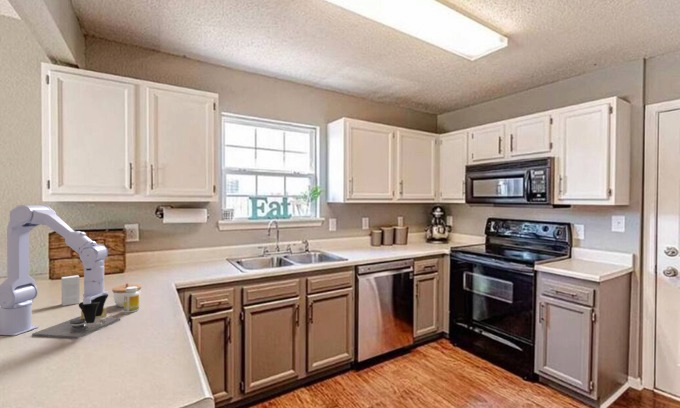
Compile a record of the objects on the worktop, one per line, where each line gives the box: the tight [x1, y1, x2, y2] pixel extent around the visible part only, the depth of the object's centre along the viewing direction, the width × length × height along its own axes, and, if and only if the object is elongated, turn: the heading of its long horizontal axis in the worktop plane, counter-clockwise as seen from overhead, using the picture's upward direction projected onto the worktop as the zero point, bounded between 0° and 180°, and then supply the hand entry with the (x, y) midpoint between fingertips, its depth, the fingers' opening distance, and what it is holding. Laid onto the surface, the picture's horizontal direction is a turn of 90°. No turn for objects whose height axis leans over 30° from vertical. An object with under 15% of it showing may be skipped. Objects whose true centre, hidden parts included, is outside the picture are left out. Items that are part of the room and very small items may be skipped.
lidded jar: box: [111, 283, 142, 308], centre depth 147 cm, size 11×11×9 cm
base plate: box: [31, 315, 121, 340], centre depth 120 cm, size 17×18×2 cm
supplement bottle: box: [123, 286, 140, 314], centre depth 139 cm, size 5×5×10 cm
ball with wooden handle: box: [69, 306, 108, 324], centre depth 121 cm, size 11×5×4 cm, turn 114°
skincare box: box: [60, 274, 81, 307], centre depth 149 cm, size 6×4×12 cm
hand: (94, 319), depth 117 cm, fingers open, 7 cm apart
